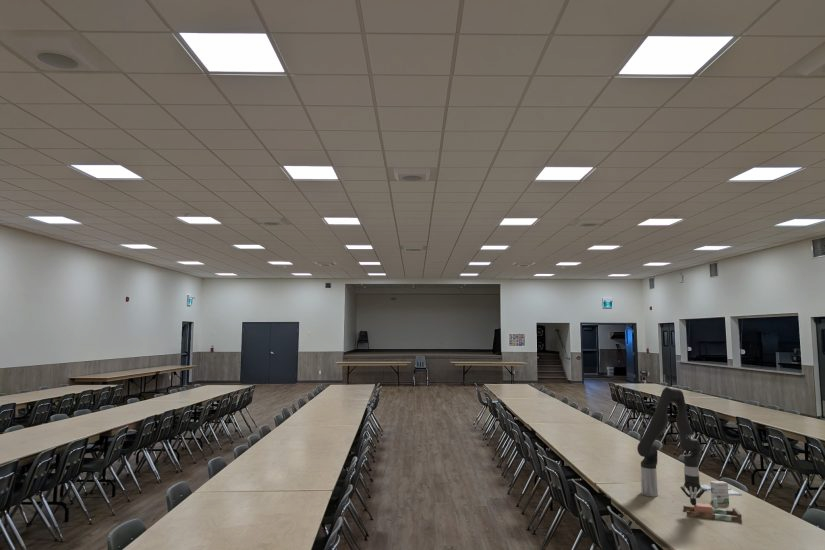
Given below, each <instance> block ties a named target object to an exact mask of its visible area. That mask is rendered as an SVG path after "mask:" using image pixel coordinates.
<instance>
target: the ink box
mask: <svg viewBox="0 0 825 550" xmlns="http://www.w3.org/2000/svg"><path fill="white" fill-rule="evenodd" d="M709 482H710V485H711V493H710V496H711V497H710V498H711V501H712V502H713V498H717V504H719V503H721V504H722V503H724V504H725V503H730V498H729V496H730V495H729V494H728V488H729V483H727V482H725V481H723V480H722V481H721V480H720V481H719V480H718V481H717V480H715V481H714V480H713V481H712V480H711V481H709Z"/></svg>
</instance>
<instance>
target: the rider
mask: <svg viewBox="0 0 825 550" xmlns="http://www.w3.org/2000/svg"><path fill="white" fill-rule="evenodd" d="M693 507H694V512H702V513H712V514H713V509H714V506H712V505H711V504H710V503H701V502H696V504H695V505H693Z"/></svg>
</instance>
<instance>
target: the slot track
mask: <svg viewBox="0 0 825 550" xmlns="http://www.w3.org/2000/svg"><path fill="white" fill-rule="evenodd" d="M682 507H683V508H682V510H683V511H684V512H686V516H687V517H689V516H691V517H692V518H699V519H700V518H701V519H710V520H719V521H726V522H727V521H728V522H737V523H743V519H742V516H743V515H742V513H740V512H739V510H738V509H737V508H736V507H732V508H731V509H732V510H731V509H721V508H720V509H719V508H718V509H714V508H713V514H712V513H702V512H694V505H684V504H683V506H682Z"/></svg>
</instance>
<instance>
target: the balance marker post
mask: <svg viewBox="0 0 825 550" xmlns="http://www.w3.org/2000/svg"><path fill="white" fill-rule="evenodd" d="M712 502H713V509H719V507H718V505H719V503H717V498H713V501H712Z"/></svg>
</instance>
